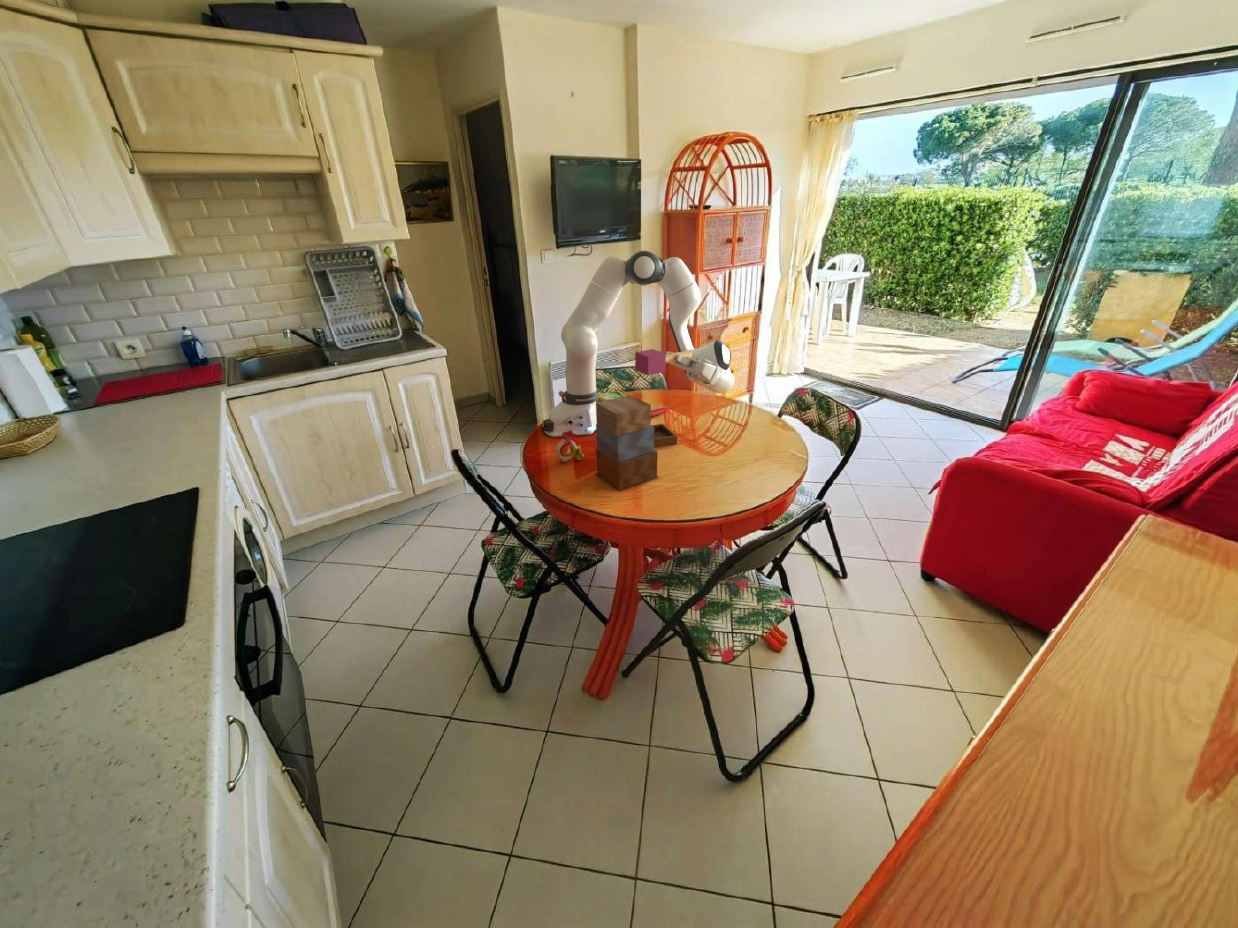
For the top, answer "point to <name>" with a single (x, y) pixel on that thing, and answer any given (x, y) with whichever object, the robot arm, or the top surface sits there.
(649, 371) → the mulberry block
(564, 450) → the bird rattle
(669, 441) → the walnut tray
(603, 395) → the puzzle game
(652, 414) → the candy bar
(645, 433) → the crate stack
